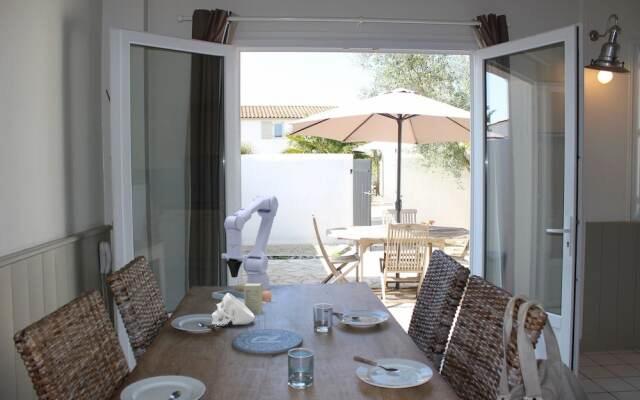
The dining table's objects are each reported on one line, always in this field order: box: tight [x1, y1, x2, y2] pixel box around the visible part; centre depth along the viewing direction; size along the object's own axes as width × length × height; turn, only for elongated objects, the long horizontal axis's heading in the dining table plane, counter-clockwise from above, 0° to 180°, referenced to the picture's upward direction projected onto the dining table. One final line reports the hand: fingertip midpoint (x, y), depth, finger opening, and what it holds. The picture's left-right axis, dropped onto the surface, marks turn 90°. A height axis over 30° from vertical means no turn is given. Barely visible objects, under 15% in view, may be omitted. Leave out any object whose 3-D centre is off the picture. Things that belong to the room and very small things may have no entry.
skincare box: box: [243, 283, 264, 319], centre depth 226 cm, size 6×4×12 cm
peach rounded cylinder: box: [262, 289, 272, 303], centre depth 245 cm, size 4×4×4 cm
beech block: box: [234, 284, 245, 293], centre depth 257 cm, size 4×4×4 cm
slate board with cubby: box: [211, 289, 278, 305], centre depth 249 cm, size 15×24×4 cm, turn 47°
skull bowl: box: [211, 293, 256, 325], centre depth 215 cm, size 10×14×12 cm
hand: (234, 277), depth 252 cm, fingers closed
